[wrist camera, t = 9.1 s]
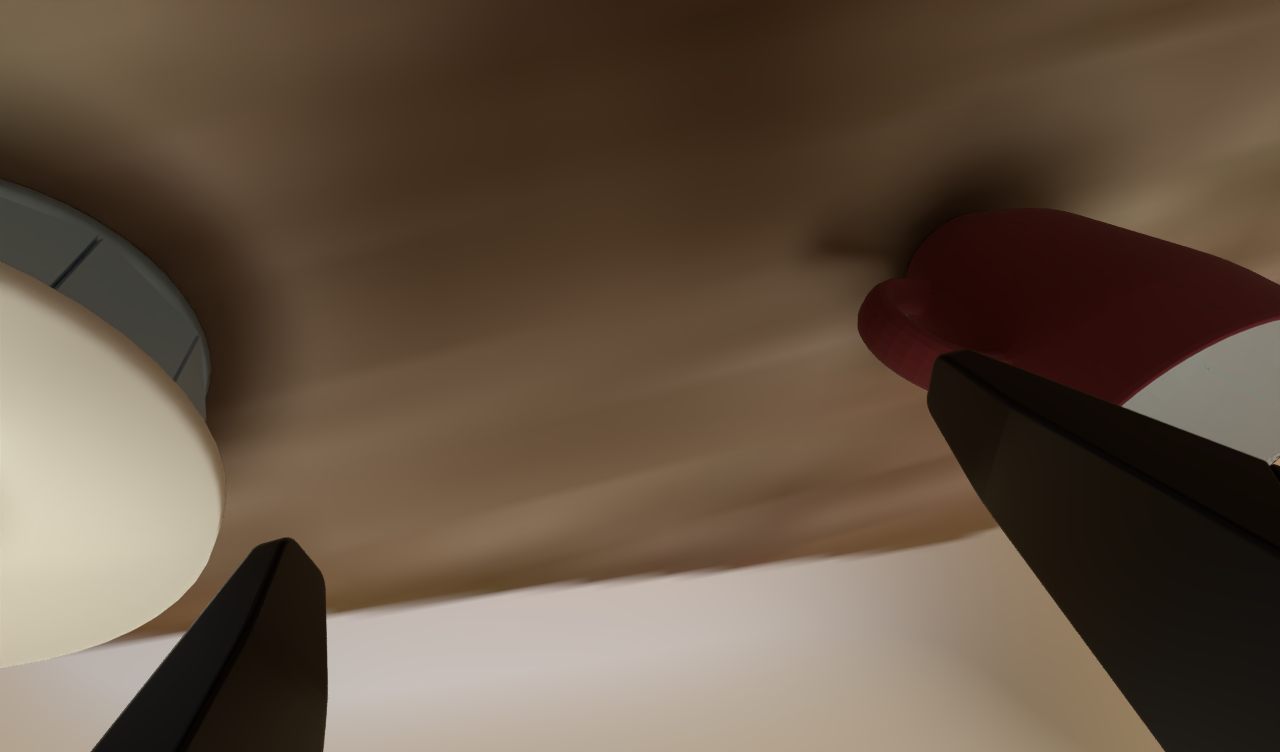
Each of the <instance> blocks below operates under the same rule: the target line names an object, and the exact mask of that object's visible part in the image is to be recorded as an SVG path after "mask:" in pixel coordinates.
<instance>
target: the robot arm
mask: <svg viewBox="0 0 1280 752" xmlns="http://www.w3.org/2000/svg"><path fill="white" fill-rule="evenodd" d="M927 405H928V409H929V411H930V414H931V416H932V417H933V419H934V421H935V423H936V424H937V426H938V428H939V429H940V431H941V433H942V435H943V436H944V438H945V440H946V442H947V443H948V445H949V447H950V448H951V450H952V452H953V454H954V455H955V457H956V459H957V461H958V462H959V464H960V466H961V467H962V469H963V471H964V473H965V474H966V476H967V478H968V480H969V481H970V483H971V485H972V487H973V488H974V490H975V491H976V493H977V495H978V496H979V498H980V499H981V501H982V502H983V504H984V505H985V507H986V508H987V510H988V511H989V512H990V514H991V515H992V517H993V518H994V519H995V521H996V522H997V523H998V525H999V526H1000V528H1001V529H1002V530H1003V532H1004V533H1005V534H1006V536H1007V537H1008V538H1009V540H1010V541H1011V542H1012V544H1013V545H1014V547H1015V548H1016V549H1017V551H1018V552H1019V553H1020V555H1021V556H1022V557H1023V559H1024V560H1025V562H1026V563H1027V564H1028V566H1029V567H1030V568H1031V570H1032V571H1033V572H1034V574H1035V575H1036V577H1037V578H1038V579H1039V580H1040V582H1041V583H1042V585H1043V586H1044V587H1045V589H1046V590H1047V591H1048V593H1049V594H1050V596H1051V597H1052V598H1053V600H1054V601H1055V602H1056V604H1057V605H1058V606H1059V608H1060V609H1061V611H1062V612H1063V613H1064V615H1065V616H1066V617H1067V619H1068V620H1069V621H1070V623H1071V624H1072V625H1073V627H1074V628H1075V630H1076V631H1077V632H1078V634H1079V635H1080V636H1081V638H1082V639H1083V640H1084V642H1085V643H1086V645H1087V646H1088V647H1089V649H1090V650H1091V651H1092V653H1093V654H1094V656H1095V657H1096V658H1097V660H1098V661H1099V662H1100V664H1101V665H1102V666H1103V668H1104V669H1105V671H1106V672H1107V673H1108V675H1109V676H1110V677H1111V679H1112V680H1113V681H1114V683H1115V684H1116V685H1117V687H1118V688H1119V690H1120V691H1121V692H1122V694H1123V695H1124V696H1125V698H1126V699H1127V700H1128V702H1129V703H1130V705H1131V706H1132V707H1133V708H1134V710H1135V711H1136V713H1137V714H1138V715H1139V717H1140V718H1141V720H1142V721H1143V722H1144V723H1145V725H1146V726H1147V728H1148V729H1149V730H1150V732H1151V733H1152V734H1153V736H1154V737H1155V739H1156V740H1157V741H1158V742H1159V744H1160V745H1161V747H1162V748H1163V749H1164V751H1165V752H1280V466H1278V465H1275V464H1272V465H1269V464H1268V463H1267V462H1266V461H1265V460H1262V459H1259V458H1257V457H1254V456H1252V455H1249V454H1246V453H1244V452H1241V451H1238V450H1236V449H1233V448H1230V447H1228V446H1225V445H1222V444H1220V443H1217V442H1214V441H1212V440H1209V439H1206V438H1204V437H1201V436H1199V435H1196V434H1193V433H1191V432H1188V431H1185V430H1183V429H1180V428H1177V427H1175V426H1172V425H1169V424H1167V423H1164V422H1161V421H1159V420H1156V419H1154V418H1151V417H1148V416H1146V415H1143V414H1140V413H1138V412H1135V411H1132V410H1130V409H1127V408H1124V407H1122V406H1119V405H1116V404H1114V403H1111V402H1108V401H1106V400H1103V399H1101V398H1098V397H1095V396H1093V395H1090V394H1087V393H1085V392H1082V391H1079V390H1077V389H1074V388H1071V387H1069V386H1066V385H1063V384H1061V383H1058V382H1055V381H1053V380H1050V379H1048V378H1045V377H1042V376H1040V375H1037V374H1034V373H1032V372H1029V371H1026V370H1024V369H1021V368H1018V367H1016V366H1013V365H1010V364H1008V363H1005V362H1002V361H1000V360H997V359H995V358H992V357H989V356H987V355H984V354H981V353H979V352H976V351H973V350H970V349H965V348H964V349H958V350H954V351H951V352H947V353H944V354H940V355H939V356H937V358H936V359H935V360H934V363H933V367H932V373H931V378H930V383H929V388H928V393H927ZM327 700H328V670H327V630H326V589H325V581H324V578H323V575H322V573H321V571H320V570H319V568H318V567H317V566H316V565H315V564H314V562H313V561H312V560H311V559H310V558H309V556H308V555H307V554H306V553H305V551H304V550H303V549H302V548H301V547H300V545H299V544H298V543H297V542H296V541H295V540H294V539H291V538H289V537H287V538H281V539H277V540H274V541H270V542H266V543H263V544H260V545H258V546H256V547H255V548H254V549H253V550H252V551H251V552H250V553H249V554H248V555H247V557H246V558H245V559H244V560H243V562H242V563H241V564H240V565H239V567H238V568H237V569H236V570H235V572H234V573H233V574H232V575H231V577H230V578H229V579H228V580H227V582H226V583H225V584H224V585H223V587H222V588H221V589H220V590H219V592H218V593H217V594H216V595H215V597H214V598H213V599H212V600H211V602H210V603H209V604H208V605H207V607H206V608H205V609H204V610H203V612H202V613H201V614H200V615H199V617H198V618H197V619H196V620H195V622H194V623H193V624H192V625H191V627H190V628H189V629H188V630H187V632H186V633H185V634H184V635H183V637H182V638H181V639H180V641H179V642H178V643H177V645H175V647H174V648H173V649H172V651H171V652H170V653H169V654H168V656H167V657H166V658H165V659H164V660H163V662H162V663H161V664H160V666H159V667H158V668H157V669H156V671H155V672H154V673H153V674H152V676H151V677H150V678H149V679H148V681H147V682H146V683H145V684H144V686H143V687H142V688H141V689H140V691H139V692H138V693H137V694H136V696H135V697H134V698H133V699H132V701H131V702H130V703H129V704H128V706H127V707H126V708H125V709H124V711H123V712H122V713H121V714H120V716H119V717H118V718H117V720H116V721H115V722H114V723H113V724H112V726H111V727H110V728H109V729H108V731H107V732H106V733H105V734H104V736H103V737H102V738H101V739H100V741H99V742H98V743H97V744H96V746H95V747H94V748H93V749H92V751H91V752H323V748H324V738H325V727H326V715H327Z"/></svg>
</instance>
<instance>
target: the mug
mask: <svg viewBox="0 0 1280 752" xmlns="http://www.w3.org/2000/svg"><path fill="white" fill-rule="evenodd" d="M907 314H908V317H909V318H908V317H907V316H906V315H907ZM858 331H859V333H860V336H861V338H862V340H863V341H864V343H865V344H866V346H867V347H868V349H869V350H870V351H871V352H872V353H873V354H874V355H875V356H876V358H878V359H879V360H880V361H881V362H882V363H883V364H884V365H886V366H887V367H888V368H890V369H891V370H892V371H894V372H895V373H897V374H898V375H900V376H901V377H903V378H905V379H906V380H908V381H910V382H911V383H913V384H915V385H917V386H919V387H921V388H923V389H925V390H927V391H928V388H929V383H930V378H931V373H932V367H933V363H934V360H935V359H936V358H937V356H939V355H940V354H944V353H947V352H951V351H954V350H958V349H964V348H965V349H970V350H973V351H976V352H979V353H981V354H984V355H987V356H989V357H992V358H995V359H997V360H1000V361H1002V362H1005V363H1008V364H1010V365H1013V366H1016V367H1018V368H1021V369H1024V370H1026V371H1029V372H1032V373H1034V374H1037V375H1040V376H1042V377H1045V378H1048V379H1050V380H1053V381H1055V382H1058V383H1061V384H1063V385H1066V386H1069V387H1071V388H1074V389H1077V390H1079V391H1082V392H1085V393H1087V394H1090V395H1093V396H1095V397H1098V398H1101V399H1103V400H1106V401H1108V402H1111V403H1114V404H1116V405H1119V406H1122V407H1124V408H1127V409H1130V410H1132V411H1135V412H1138V413H1140V414H1143V415H1146V416H1148V417H1151V418H1154V419H1156V420H1159V421H1161V422H1164V423H1167V424H1169V425H1172V426H1175V427H1177V428H1180V429H1183V430H1185V431H1188V432H1191V433H1193V434H1196V435H1199V436H1201V437H1204V438H1206V439H1209V440H1212V441H1214V442H1217V443H1220V444H1222V445H1225V446H1228V447H1230V448H1233V449H1236V450H1238V451H1241V452H1244V453H1246V454H1249V455H1252V456H1254V457H1257V458H1259V459H1262V460H1265V461H1266V462H1267V463H1268V464H1269V465H1272V464H1273V463H1274V462H1275V461H1276V460H1278V459H1279V458H1280V285H1278V284H1277V283H1275V282H1273V281H1271V280H1269V279H1267V278H1265V277H1263V276H1261V275H1259V274H1257V273H1255V272H1253V271H1251V270H1249V269H1246V268H1244V267H1242V266H1239V265H1237V264H1235V263H1232V262H1230V261H1228V260H1225V259H1222V258H1219V257H1217V256H1214V255H1211V254H1208V253H1204V252H1201V251H1198V250H1195V249H1192V248H1189V247H1185V246H1182V245H1179V244H1175V243H1172V242H1168V241H1165V240H1162V239H1158V238H1155V237H1151V236H1148V235H1145V234H1141V233H1138V232H1135V231H1131V230H1128V229H1124V228H1121V227H1118V226H1114V225H1111V224H1107V223H1104V222H1101V221H1097V220H1094V219H1091V218H1087V217H1084V216H1080V215H1077V214H1073V213H1069V212H1065V211H1059V210H1052V209H1039V208H1021V209H1005V210H994V211H983V212H974V213H969V214H964V215H962V216H959V217H956V218H954V219H952V220H950V221H948V222H946V223H945V224H943V225H942V226H940V227H939V228H937V229H936V230H935V231H934V232H932V233H931V234H930V235H929V236H928V237H927V238H926V239H925V240H924V242H923V243H922V244H921V245H920V246H919V248H918V249H917V251H916V252H915V254H914V256H913V257H912V259H911V262H910V264H909V267H908V270H907V274H906V279H890V280H887V281H884V282H882V283H880V284H878V285H876V286H875V287H874V288H873V289H872V290H871V291H870V292H869V293H868V295H867V296H866V298H865V300H864V302H863V303H862V305H861V307H860V310H859V313H858Z"/></svg>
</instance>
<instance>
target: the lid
mask: <svg viewBox="0 0 1280 752" xmlns="http://www.w3.org/2000/svg"><path fill="white" fill-rule="evenodd" d="M226 496H227V493H226V481H225V470H224V467H223V464H222V460H221V457H220V454H219V450H218V447H217V444H216V442H215V440H214V438H213V437H212V435H211V433H210V431H209V429H208V427H207V425H206V423H205V421H204V419H203V417H202V416H201V415H200V413H199V412H198V410H197V409H196V408H195V406H194V405H193V403H192V402H191V401H190V399H189V398H188V397H187V395H186V394H185V392H184V391H183V390H182V389H181V388H180V387H179V386H178V385H177V383H176V382H175V381H174V380H173V379H172V378H171V377H170V376H169V375H168V374H167V373H166V372H165V371H164V370H163V369H162V368H161V366H160V365H159V364H158V363H157V362H156V361H154V360H153V359H152V358H151V357H150V356H149V355H147V354H146V353H145V352H144V351H143V350H142V349H140V348H139V347H138V346H137V345H136V344H134V343H133V342H132V341H131V340H130V339H129V338H127V337H126V336H125V335H124V334H123V333H121V332H120V331H118V330H117V329H116V328H114V327H113V326H111V325H110V324H108V323H107V322H105V321H104V320H103V319H101V318H100V317H98V316H97V315H95V314H94V313H92V312H91V311H90V310H88V309H87V308H85V307H84V306H82V305H81V304H79V303H77V302H76V301H74V300H72V299H70V298H69V297H67V296H65V295H63V294H62V293H60V292H58V291H56V290H55V289H53V288H51V287H49V286H48V285H46V284H44V283H42V282H41V281H39V280H37V279H35V278H34V277H32V276H30V275H28V274H26V273H24V272H21V271H19V270H17V269H15V268H13V267H11V266H9V265H7V264H4V263H2V262H0V668H5V667H11V666H17V665H22V664H28V663H34V662H39V661H44V660H48V659H52V658H56V657H60V656H64V655H68V654H72V653H76V652H79V651H81V650H84V649H87V648H90V647H93V646H96V645H99V644H102V643H105V642H108V641H110V640H112V639H114V638H117V637H119V636H121V635H123V634H126V633H128V632H130V631H132V630H134V629H136V628H138V627H140V626H141V625H143V624H145V623H146V622H148V621H150V620H152V619H153V618H155V617H157V616H158V615H160V614H161V613H162V612H164V611H165V610H166V609H167V608H169V607H170V606H171V605H173V604H174V603H175V602H176V601H178V600H179V599H180V598H181V597H182V596H183V595H184V594H185V592H186V591H187V590H188V589H189V588H190V587H191V586H192V585H193V584H194V583H195V582H196V580H197V578H198V577H199V575H200V574H201V572H202V571H203V569H204V568H205V566H206V564H207V563H208V560H209V557H210V555H211V552H212V549H213V547H214V544H215V541H216V538H217V535H218V532H219V530H220V527H221V524H222V521H223V518H224V511H225V504H226Z"/></svg>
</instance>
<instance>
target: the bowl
mask: <svg viewBox="0 0 1280 752" xmlns="http://www.w3.org/2000/svg"><path fill="white" fill-rule="evenodd" d="M0 262H2V263H4V264H7V265H9V266H11V267H13V268H15V269H17V270H19V271H21V272H24V273H26V274H28V275H30V276H32V277H34V278H35V279H37V280H39V281H41V282H42V283H44V284H46V285H48V286H49V287H51V288H53V289H55V290H56V291H58V292H60V293H62V294H63V295H65V296H67V297H69V298H70V299H72V300H74V301H76V302H77V303H79V304H81V305H82V306H84V307H85V308H87V309H88V310H90V311H91V312H92V313H94V314H95V315H97V316H98V317H100V318H101V319H103V320H104V321H105V322H107V323H108V324H110V325H111V326H113V327H114V328H116V329H117V330H118V331H120V332H121V333H123V334H124V335H125V336H126V337H127V338H129V339H130V340H131V341H132V342H133V343H134V344H136V345H137V346H138V347H139V348H140V349H142V350H143V351H144V352H145V353H146V354H147V355H149V356H150V357H151V358H152V359H153V360H154V361H156V362H157V363H158V364H159V365H160V366H161V368H162V369H163V370H164V371H165V372H166V373H167V374H168V375H169V376H170V377H171V378H172V379H173V380H174V381H175V382H176V383H177V385H178V386H179V387H180V388H181V389H182V390H183V391H184V392H185V394H186V395H187V397H188V398H189V399H190V401H191V402H192V403H193V405H194V406H195V408H196V409H197V410H198V412H199V413H200V415H201V416H202V417H203V419H204V421H205V422H206V407H205V399H206V396H207V393H208V390H209V386H210V377H211V362H210V352H209V348H208V345H207V341H206V337H205V334H204V332H203V329H202V327H201V325H200V323H199V321H198V318H197V316H196V314H195V313H194V311H193V310H192V308H191V307H190V305H189V303H188V302H187V300H186V299H185V297H184V296H183V294H182V293H181V292H180V291H179V290H178V288H177V287H176V286H175V285H174V283H173V282H172V281H171V280H170V279H169V277H168V276H167V275H166V274H165V273H164V272H163V271H162V270H161V269H159V268H158V267H157V266H156V265H155V264H154V263H153V262H152V261H151V260H150V259H149V258H148V257H147V256H146V255H144V254H143V253H142V252H141V251H139V250H138V249H137V248H136V247H134V246H133V245H132V244H131V243H129V242H128V241H127V240H126V239H124V238H123V237H121V236H120V235H118V234H117V233H115V232H114V231H112V230H111V229H109V228H108V227H106V226H104V225H103V224H101V223H100V222H98V221H97V220H95V219H93V218H91V217H89V216H87V215H86V214H84V213H82V212H80V211H78V210H76V209H75V208H73V207H71V206H69V205H67V204H65V203H62V202H60V201H58V200H56V199H53V198H51V197H49V196H46V195H44V194H42V193H40V192H37V191H35V190H32V189H29V188H27V187H24V186H21V185H18V184H15V183H12V182H9V181H6V180H3V179H0Z"/></svg>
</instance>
